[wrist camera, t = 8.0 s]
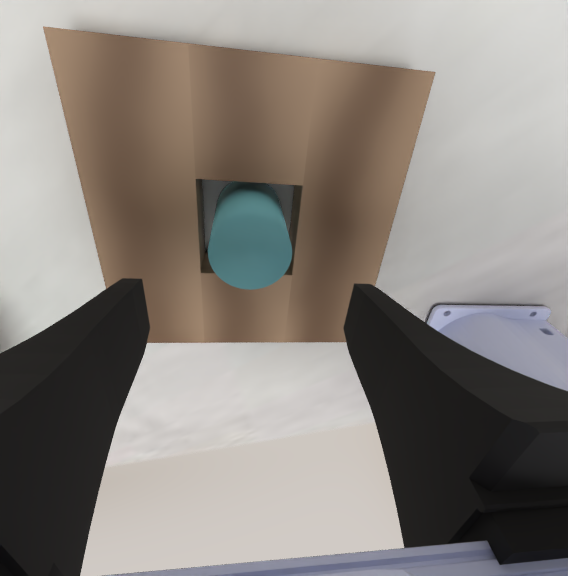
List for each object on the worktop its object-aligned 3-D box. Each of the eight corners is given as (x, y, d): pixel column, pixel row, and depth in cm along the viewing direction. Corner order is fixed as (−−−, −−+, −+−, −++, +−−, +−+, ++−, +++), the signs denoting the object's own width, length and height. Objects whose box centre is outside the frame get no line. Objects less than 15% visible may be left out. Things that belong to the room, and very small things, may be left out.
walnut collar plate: (410, 72, 16) (435, 72, 14) (348, 318, 24) (358, 342, 22) (73, 33, 14) (43, 26, 12) (131, 317, 22) (119, 342, 20)
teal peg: (286, 184, 18) (300, 221, 14) (274, 242, 20) (283, 293, 15) (220, 172, 17) (211, 207, 13) (214, 234, 19) (204, 284, 15)
